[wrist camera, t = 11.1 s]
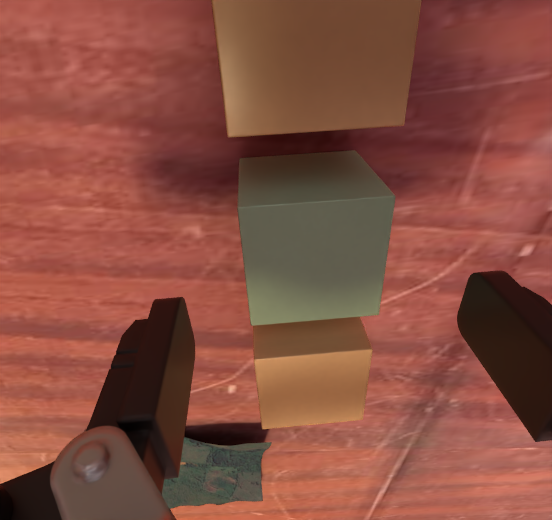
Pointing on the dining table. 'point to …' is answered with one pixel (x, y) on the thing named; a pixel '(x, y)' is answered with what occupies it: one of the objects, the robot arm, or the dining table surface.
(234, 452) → the terrain model
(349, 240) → the sage block
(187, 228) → the dining table surface
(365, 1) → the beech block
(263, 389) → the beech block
